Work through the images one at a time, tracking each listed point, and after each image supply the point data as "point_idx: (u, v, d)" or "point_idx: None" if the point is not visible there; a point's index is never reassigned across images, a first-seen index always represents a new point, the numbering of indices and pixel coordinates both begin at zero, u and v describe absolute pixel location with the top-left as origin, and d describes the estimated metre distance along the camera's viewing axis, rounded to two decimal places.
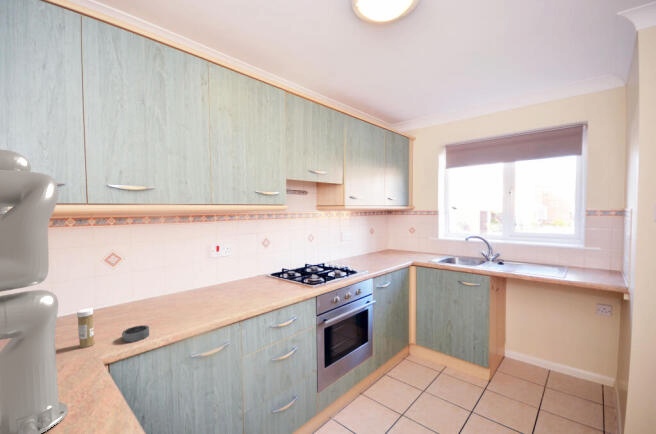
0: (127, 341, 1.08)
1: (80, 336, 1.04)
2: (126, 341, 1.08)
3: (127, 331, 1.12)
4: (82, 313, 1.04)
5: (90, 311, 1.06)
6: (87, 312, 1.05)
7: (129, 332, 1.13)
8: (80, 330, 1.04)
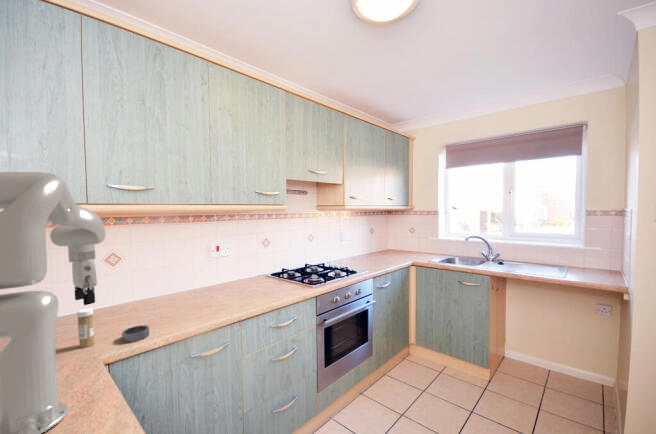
0: (127, 341, 1.08)
1: (80, 336, 1.04)
2: (126, 341, 1.08)
3: (127, 331, 1.12)
4: (82, 313, 1.04)
5: (90, 311, 1.06)
6: (87, 312, 1.05)
7: (129, 332, 1.13)
8: (80, 330, 1.04)
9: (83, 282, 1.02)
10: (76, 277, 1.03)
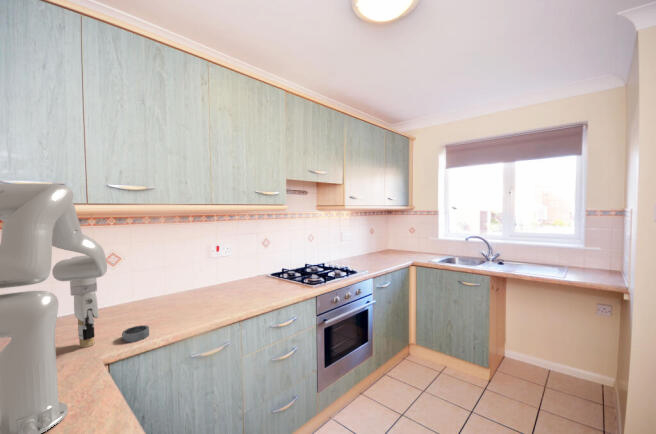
0: (127, 341, 1.08)
1: (80, 336, 1.04)
2: (126, 341, 1.08)
3: (127, 331, 1.12)
4: None
5: None
6: None
7: (129, 332, 1.13)
8: (80, 330, 1.04)
9: (85, 315, 1.02)
10: (78, 310, 1.03)
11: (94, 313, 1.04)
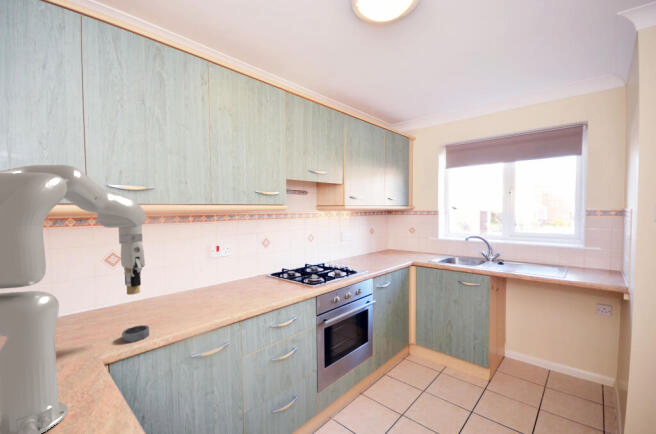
0: (127, 341, 1.08)
1: (128, 283, 1.09)
2: (126, 341, 1.08)
3: (127, 331, 1.12)
4: None
5: None
6: None
7: (129, 332, 1.13)
8: (128, 278, 1.09)
9: (133, 263, 1.07)
10: (126, 258, 1.08)
11: (141, 261, 1.09)
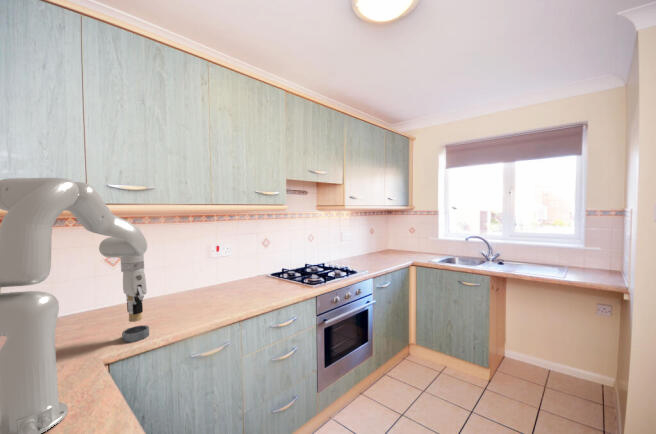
0: (127, 341, 1.08)
1: (130, 311, 1.10)
2: (126, 341, 1.08)
3: (127, 331, 1.12)
4: None
5: None
6: None
7: (129, 332, 1.13)
8: (130, 305, 1.10)
9: (135, 291, 1.08)
10: (128, 286, 1.09)
11: (143, 289, 1.10)
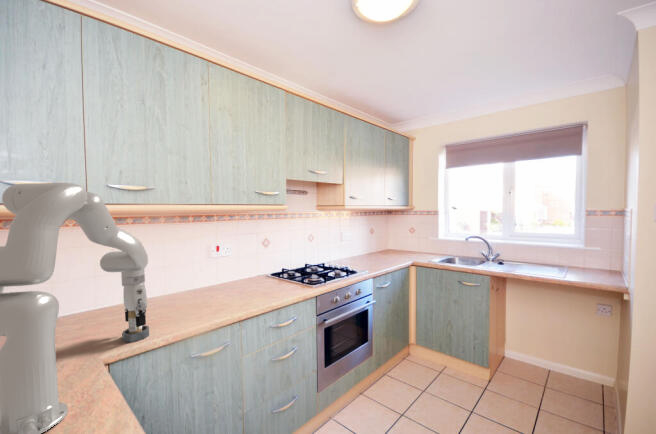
0: (127, 341, 1.08)
1: (130, 329, 1.10)
2: (126, 341, 1.08)
3: (127, 331, 1.12)
4: None
5: None
6: None
7: None
8: (130, 323, 1.10)
9: (136, 305, 1.08)
10: (129, 300, 1.09)
11: (144, 303, 1.10)
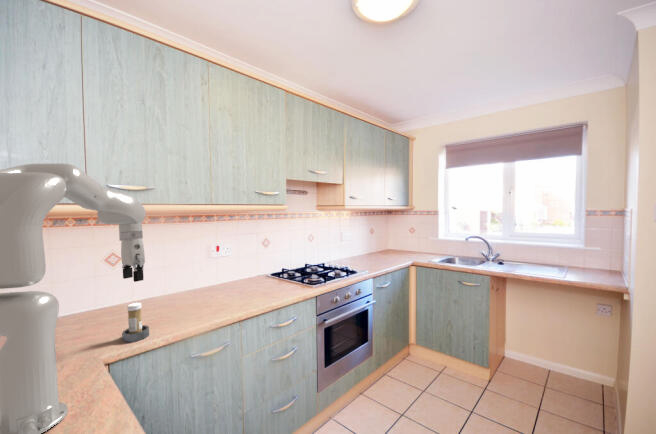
0: (127, 341, 1.08)
1: (130, 329, 1.10)
2: (126, 341, 1.08)
3: (127, 331, 1.12)
4: (132, 307, 1.09)
5: (139, 305, 1.11)
6: (137, 306, 1.10)
7: None
8: (130, 323, 1.10)
9: (133, 259, 1.07)
10: (126, 255, 1.08)
11: None
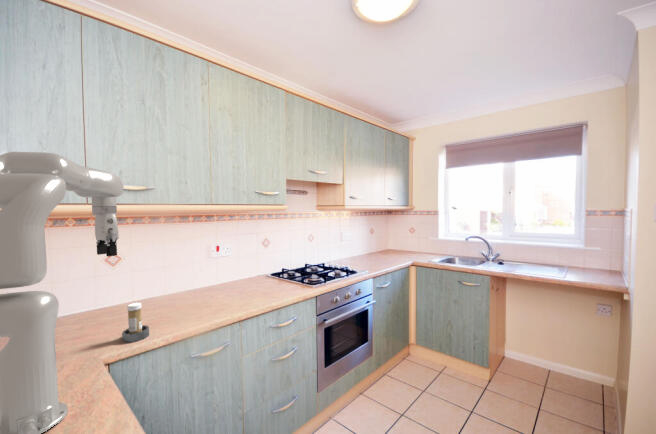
0: (127, 341, 1.08)
1: (130, 329, 1.10)
2: (126, 341, 1.08)
3: (127, 331, 1.12)
4: (132, 307, 1.09)
5: (139, 305, 1.11)
6: (137, 306, 1.10)
7: None
8: (130, 323, 1.10)
9: (106, 234, 1.06)
10: (99, 230, 1.07)
11: None
